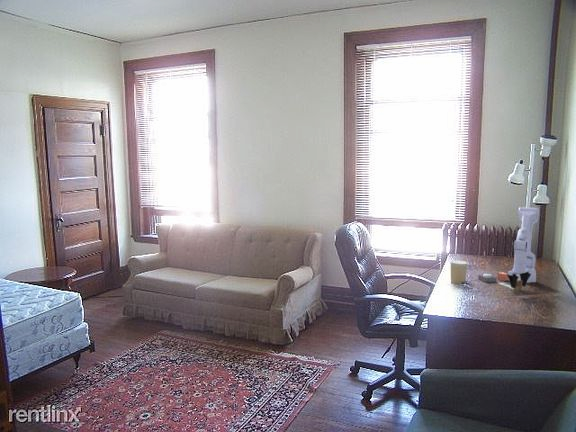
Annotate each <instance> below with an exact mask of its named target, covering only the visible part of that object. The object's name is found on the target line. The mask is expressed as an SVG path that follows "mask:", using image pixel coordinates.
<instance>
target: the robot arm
mask: <svg viewBox="0 0 576 432" xmlns="http://www.w3.org/2000/svg"><path fill="white" fill-rule="evenodd" d="M517 214H518V219H519V221H520V222H521V225H520V227H521V228H519V229H518V231H517V235H516V240H514V242H513V249H514V250H513V253H514V255H513V256H514V259H513V268H511V270H508V271H507V272H508V274H507V276H508V280H509V283H510V284H509V285H510V286H511V287H512V288H516V283H517V280H521V281H522V287H526V286H527V284H528V283H529V284H530V283H536V282H537V271H536V268H535V267H536V254H534V253H533V252H532V251H531V249H532V248H531V247H532V239H533V230H534V229H533V228H534V225H535V223H538V221H539V217H540V216H539V215H540V209H539V207H529V206H528V207H525V206H519V208H518V213H517Z"/></svg>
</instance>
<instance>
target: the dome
mask: <svg viewBox="0 0 576 432" xmlns="http://www.w3.org/2000/svg"><path fill="white" fill-rule="evenodd" d="M482 275H483V276H484V277H486V278H489V277H492V276H493V275H492V274H490V273H483V274H482Z"/></svg>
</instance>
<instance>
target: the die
mask: <svg viewBox="0 0 576 432" xmlns="http://www.w3.org/2000/svg"><path fill="white" fill-rule="evenodd" d="M507 274H508V273H507V272H503V271H502V272H501V271H500V272H497V280H498V281H502V282H505V281H508V280H509V278H508V276H507Z"/></svg>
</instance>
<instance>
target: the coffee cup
mask: <svg viewBox="0 0 576 432" xmlns="http://www.w3.org/2000/svg"><path fill="white" fill-rule="evenodd" d="M449 264H450V283H451V284H455V285H465V284H466V278H467V272H468V262H467V261H465V260H464V261H463V260H457V259H456V260H451V261H450V263H449Z"/></svg>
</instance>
